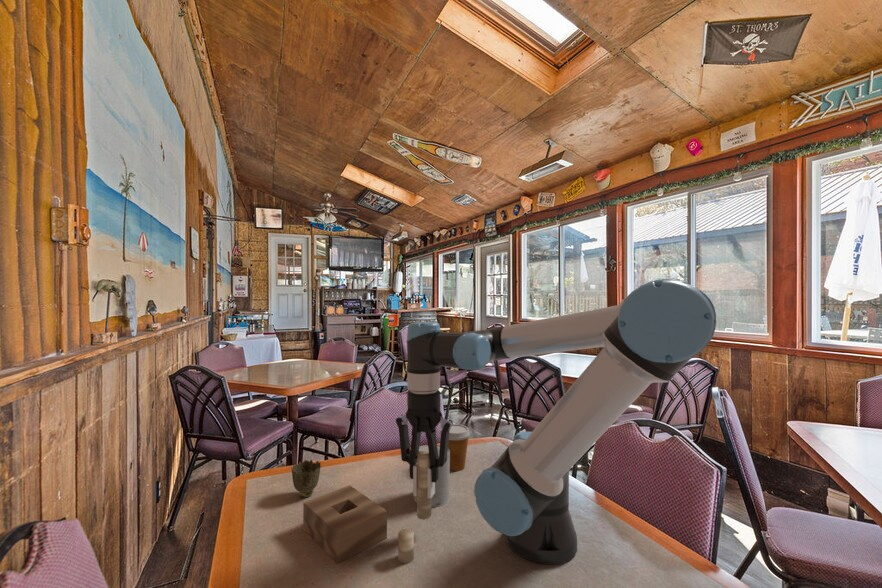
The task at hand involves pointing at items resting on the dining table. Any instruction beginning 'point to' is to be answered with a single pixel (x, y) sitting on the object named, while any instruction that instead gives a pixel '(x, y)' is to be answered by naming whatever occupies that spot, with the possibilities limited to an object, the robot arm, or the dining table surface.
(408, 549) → the short pin
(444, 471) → the speckled white tub
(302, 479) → the olive hollow patterned container
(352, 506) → the hole block
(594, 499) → the dining table surface
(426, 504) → the long pin
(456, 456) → the disposable coffee cup
